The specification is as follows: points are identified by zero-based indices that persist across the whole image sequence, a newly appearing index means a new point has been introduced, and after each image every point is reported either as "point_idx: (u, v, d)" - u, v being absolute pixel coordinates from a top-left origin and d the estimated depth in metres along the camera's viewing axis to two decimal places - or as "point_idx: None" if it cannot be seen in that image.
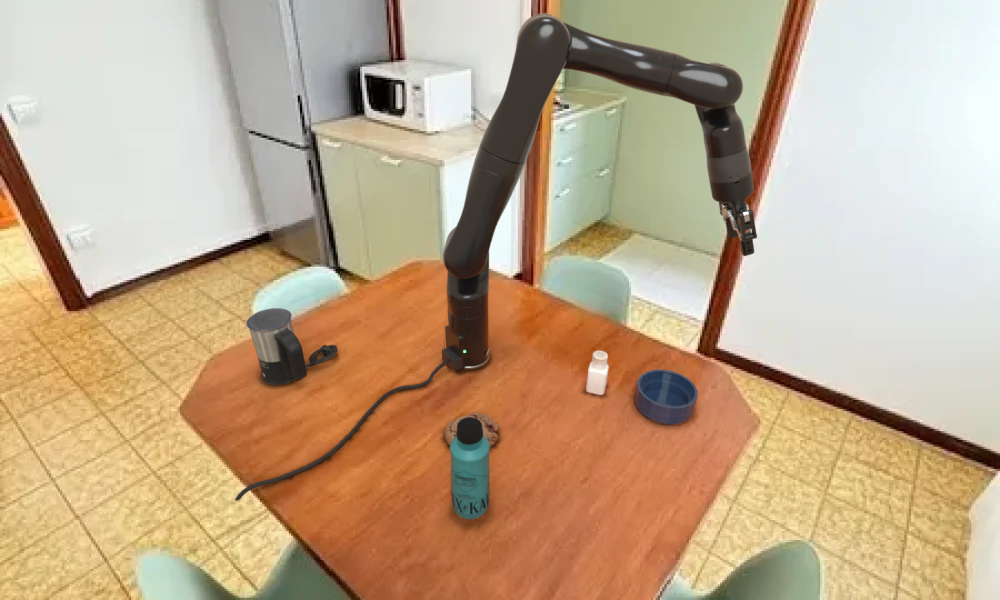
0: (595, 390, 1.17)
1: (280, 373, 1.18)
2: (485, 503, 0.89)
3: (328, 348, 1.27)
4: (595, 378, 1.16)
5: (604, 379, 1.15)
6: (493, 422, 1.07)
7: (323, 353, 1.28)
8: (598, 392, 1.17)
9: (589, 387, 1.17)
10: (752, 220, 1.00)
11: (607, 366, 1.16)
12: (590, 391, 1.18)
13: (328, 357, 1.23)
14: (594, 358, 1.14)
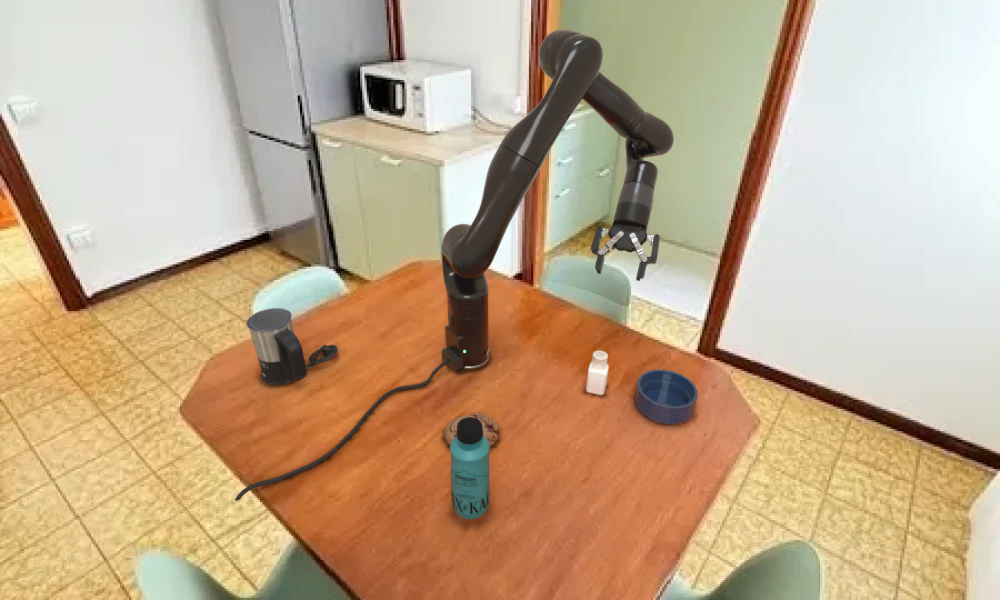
0: (595, 390, 1.17)
1: (280, 373, 1.18)
2: (485, 503, 0.89)
3: (328, 348, 1.27)
4: (595, 378, 1.16)
5: (604, 379, 1.15)
6: (493, 422, 1.07)
7: (323, 353, 1.28)
8: (598, 392, 1.17)
9: (589, 387, 1.17)
10: (658, 246, 1.17)
11: (607, 366, 1.16)
12: (590, 391, 1.18)
13: (328, 357, 1.23)
14: (594, 358, 1.14)
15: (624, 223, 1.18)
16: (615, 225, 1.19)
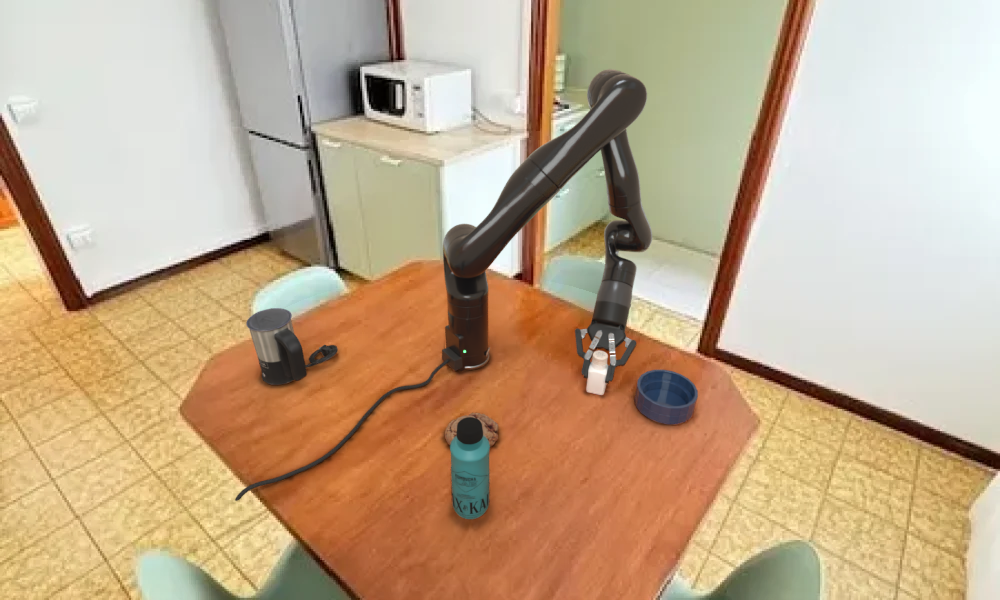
0: (595, 391, 1.17)
1: (280, 373, 1.18)
2: (485, 503, 0.89)
3: (328, 348, 1.27)
4: (595, 378, 1.16)
5: (604, 379, 1.15)
6: (493, 422, 1.07)
7: (323, 353, 1.28)
8: (598, 392, 1.17)
9: (589, 387, 1.17)
10: (632, 351, 1.16)
11: (607, 366, 1.16)
12: (590, 391, 1.18)
13: (328, 357, 1.23)
14: (594, 358, 1.14)
15: (603, 322, 1.17)
16: (594, 323, 1.18)
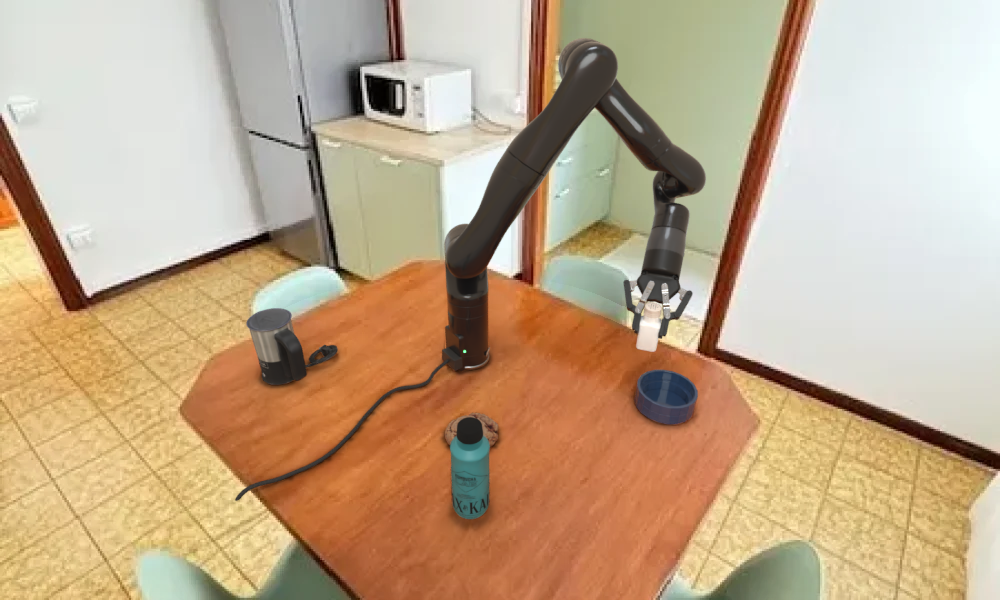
0: (647, 347, 1.07)
1: (280, 373, 1.18)
2: (485, 503, 0.89)
3: (328, 348, 1.27)
4: (647, 333, 1.06)
5: (657, 333, 1.05)
6: (493, 422, 1.07)
7: (323, 353, 1.28)
8: (649, 348, 1.08)
9: (640, 343, 1.08)
10: (687, 303, 1.07)
11: (660, 319, 1.06)
12: (641, 348, 1.08)
13: (328, 357, 1.23)
14: (647, 310, 1.04)
15: (655, 272, 1.07)
16: (644, 274, 1.08)
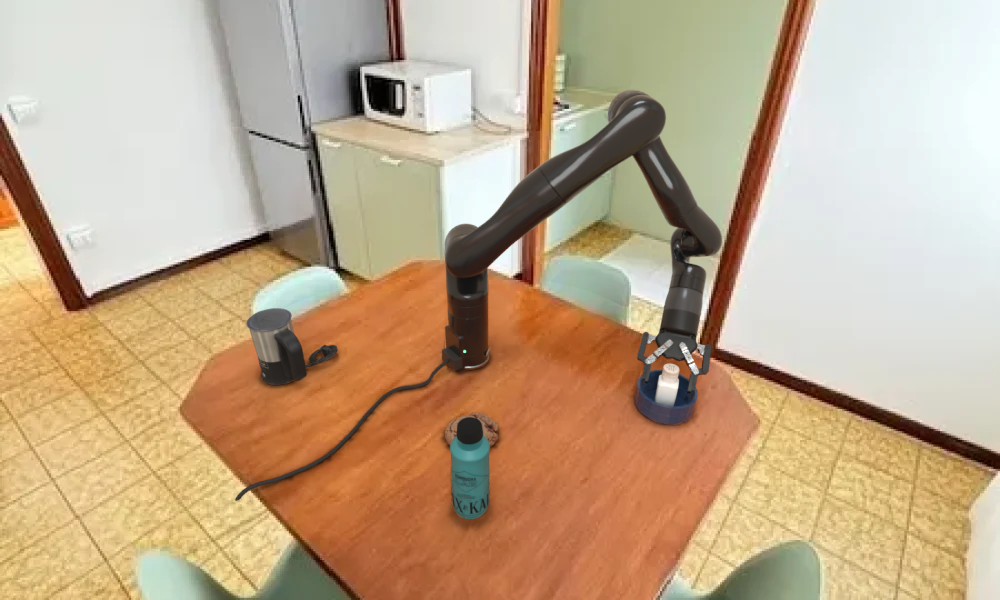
0: None
1: (280, 373, 1.18)
2: (485, 503, 0.89)
3: (328, 348, 1.27)
4: (665, 393, 1.11)
5: (675, 393, 1.10)
6: (493, 422, 1.07)
7: (323, 353, 1.28)
8: None
9: (658, 401, 1.13)
10: None
11: (677, 379, 1.12)
12: None
13: (328, 357, 1.23)
14: (665, 372, 1.09)
15: (673, 331, 1.12)
16: (663, 332, 1.13)
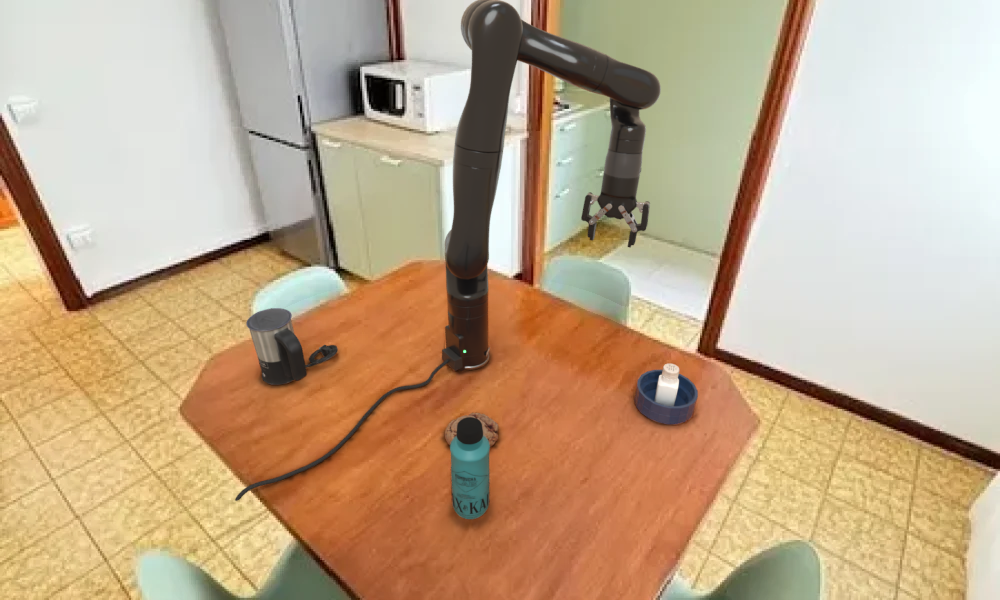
0: None
1: (280, 373, 1.18)
2: (485, 503, 0.89)
3: (328, 348, 1.27)
4: (665, 393, 1.11)
5: (675, 393, 1.10)
6: (493, 422, 1.07)
7: (323, 353, 1.28)
8: None
9: (658, 401, 1.13)
10: (648, 210, 1.16)
11: (677, 379, 1.12)
12: None
13: (328, 357, 1.23)
14: (665, 372, 1.09)
15: None
16: (603, 194, 1.16)
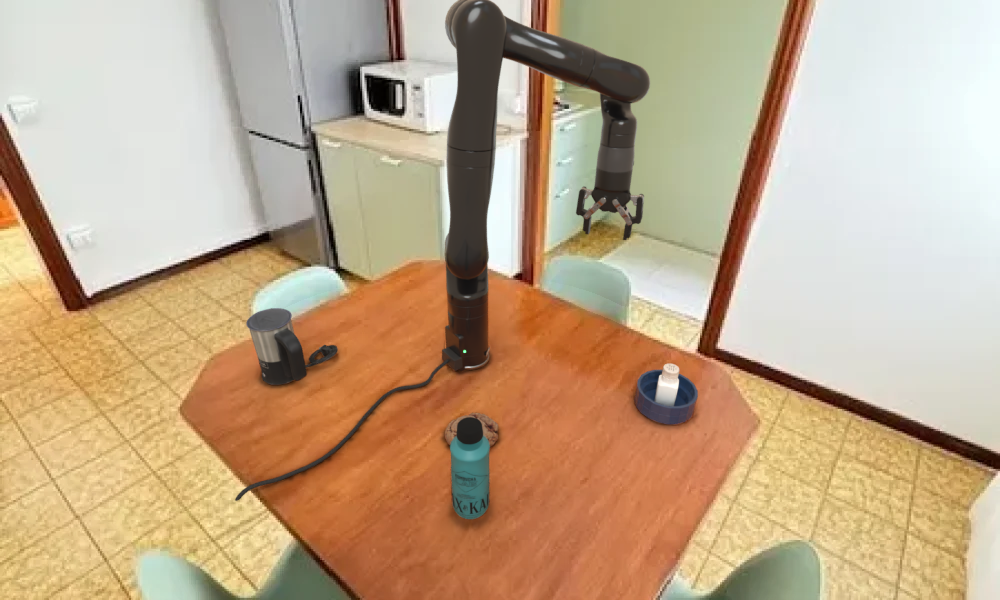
0: None
1: (280, 373, 1.18)
2: (485, 503, 0.89)
3: (328, 348, 1.27)
4: (665, 393, 1.11)
5: (675, 393, 1.10)
6: (493, 422, 1.07)
7: (323, 353, 1.28)
8: None
9: (658, 401, 1.13)
10: (643, 203, 1.16)
11: (677, 379, 1.12)
12: None
13: (328, 357, 1.23)
14: (665, 372, 1.09)
15: None
16: (597, 188, 1.16)
